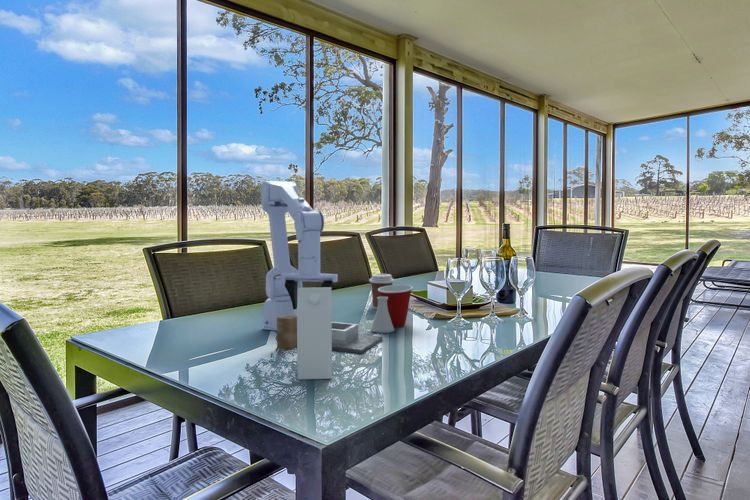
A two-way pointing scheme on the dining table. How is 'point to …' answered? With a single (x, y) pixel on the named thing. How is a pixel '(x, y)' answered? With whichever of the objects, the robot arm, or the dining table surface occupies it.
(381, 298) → the flask
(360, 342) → the post socket base
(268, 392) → the dining table surface
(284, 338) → the walnut rail post
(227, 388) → the dining table surface
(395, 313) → the plastic cup
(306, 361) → the milk carton
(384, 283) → the coffee cup
